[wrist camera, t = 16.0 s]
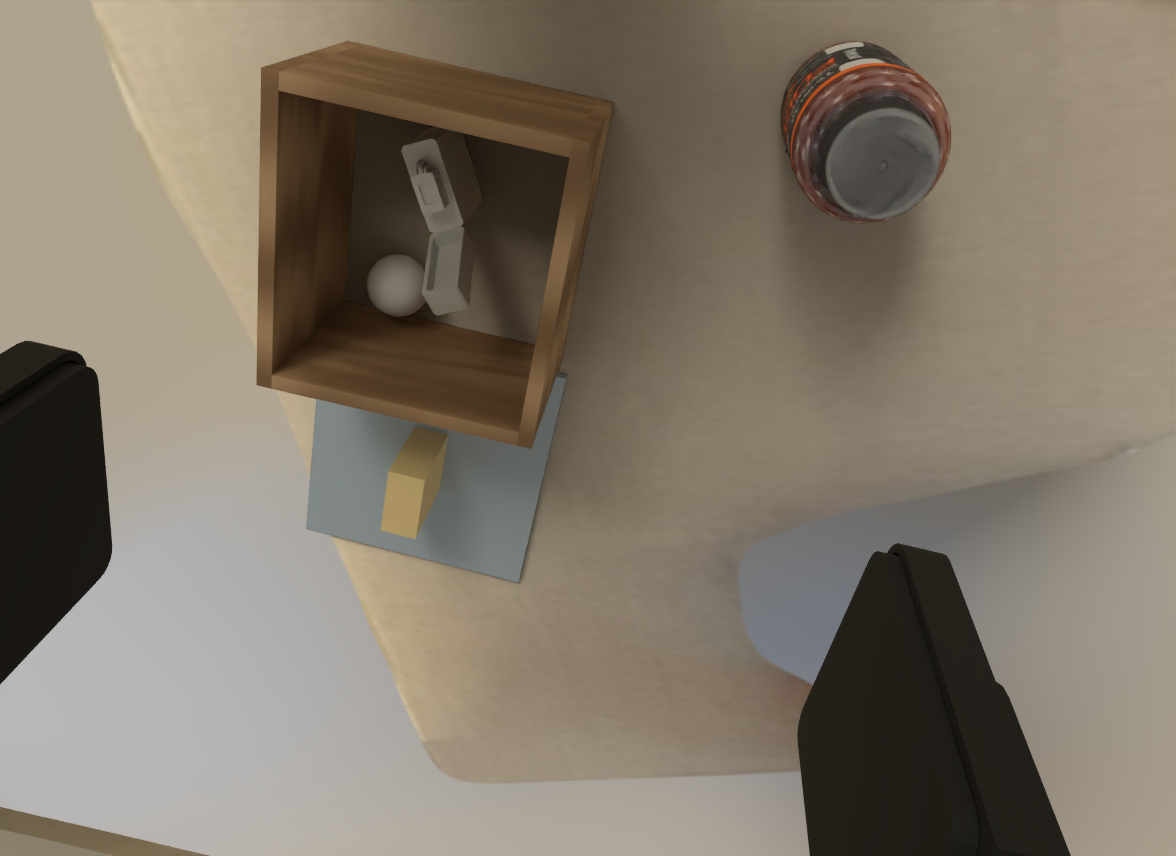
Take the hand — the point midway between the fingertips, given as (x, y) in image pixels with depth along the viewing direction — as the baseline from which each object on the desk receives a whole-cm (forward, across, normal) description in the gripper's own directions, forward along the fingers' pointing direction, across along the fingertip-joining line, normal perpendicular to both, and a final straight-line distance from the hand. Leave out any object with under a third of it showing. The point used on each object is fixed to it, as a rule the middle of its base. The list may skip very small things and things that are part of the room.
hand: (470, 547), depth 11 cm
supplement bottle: (+36, -9, -1) cm, 38 cm away
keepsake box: (+36, +8, +8) cm, 38 cm away
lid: (+37, +8, +23) cm, 44 cm away
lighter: (+36, +8, +7) cm, 38 cm away
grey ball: (+36, +10, +12) cm, 40 cm away
